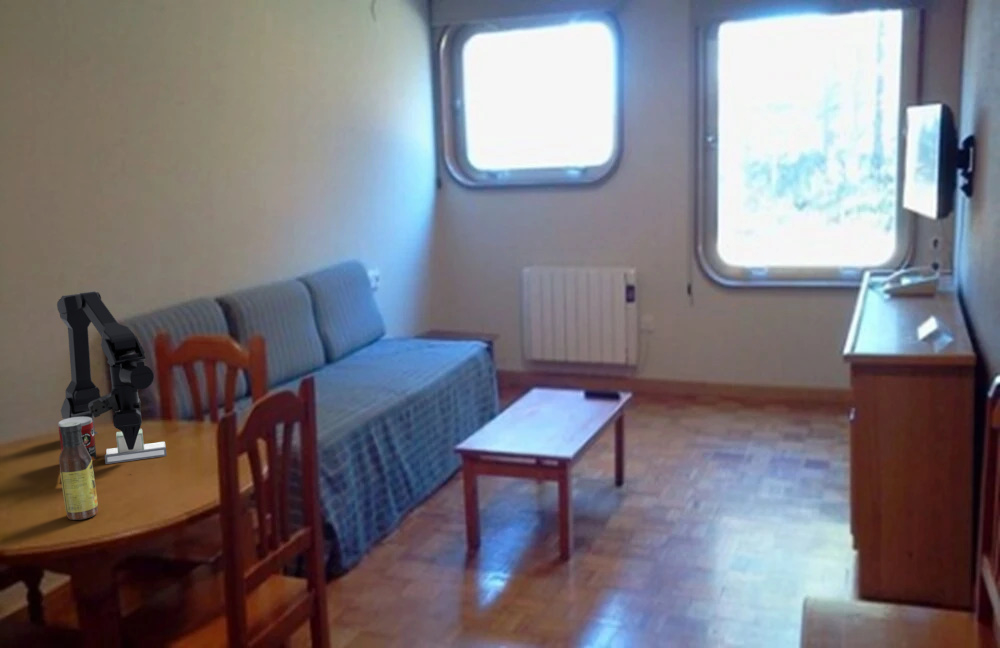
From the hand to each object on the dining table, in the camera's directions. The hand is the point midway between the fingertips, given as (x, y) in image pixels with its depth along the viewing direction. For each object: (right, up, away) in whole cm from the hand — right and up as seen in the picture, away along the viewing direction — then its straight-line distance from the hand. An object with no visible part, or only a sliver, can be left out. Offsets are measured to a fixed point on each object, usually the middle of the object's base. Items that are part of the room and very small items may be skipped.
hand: (130, 444), depth 231 cm
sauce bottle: (+4, -11, -36) cm, 37 cm away
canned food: (-12, -5, -1) cm, 13 cm away
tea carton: (0, -3, +1) cm, 3 cm away
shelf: (0, -3, +4) cm, 5 cm away
